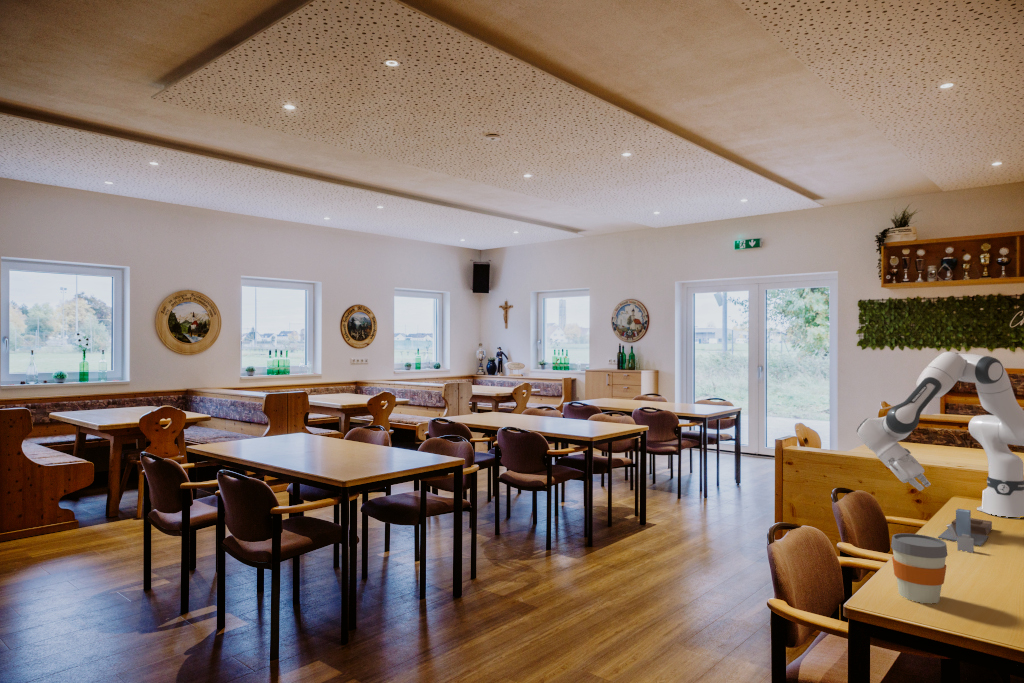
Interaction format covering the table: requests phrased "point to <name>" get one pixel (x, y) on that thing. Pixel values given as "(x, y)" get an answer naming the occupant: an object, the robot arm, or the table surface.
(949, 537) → the rubber mat
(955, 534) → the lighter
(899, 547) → the reusable coffee cup
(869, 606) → the table surface
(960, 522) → the peg
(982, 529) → the pocket holder
